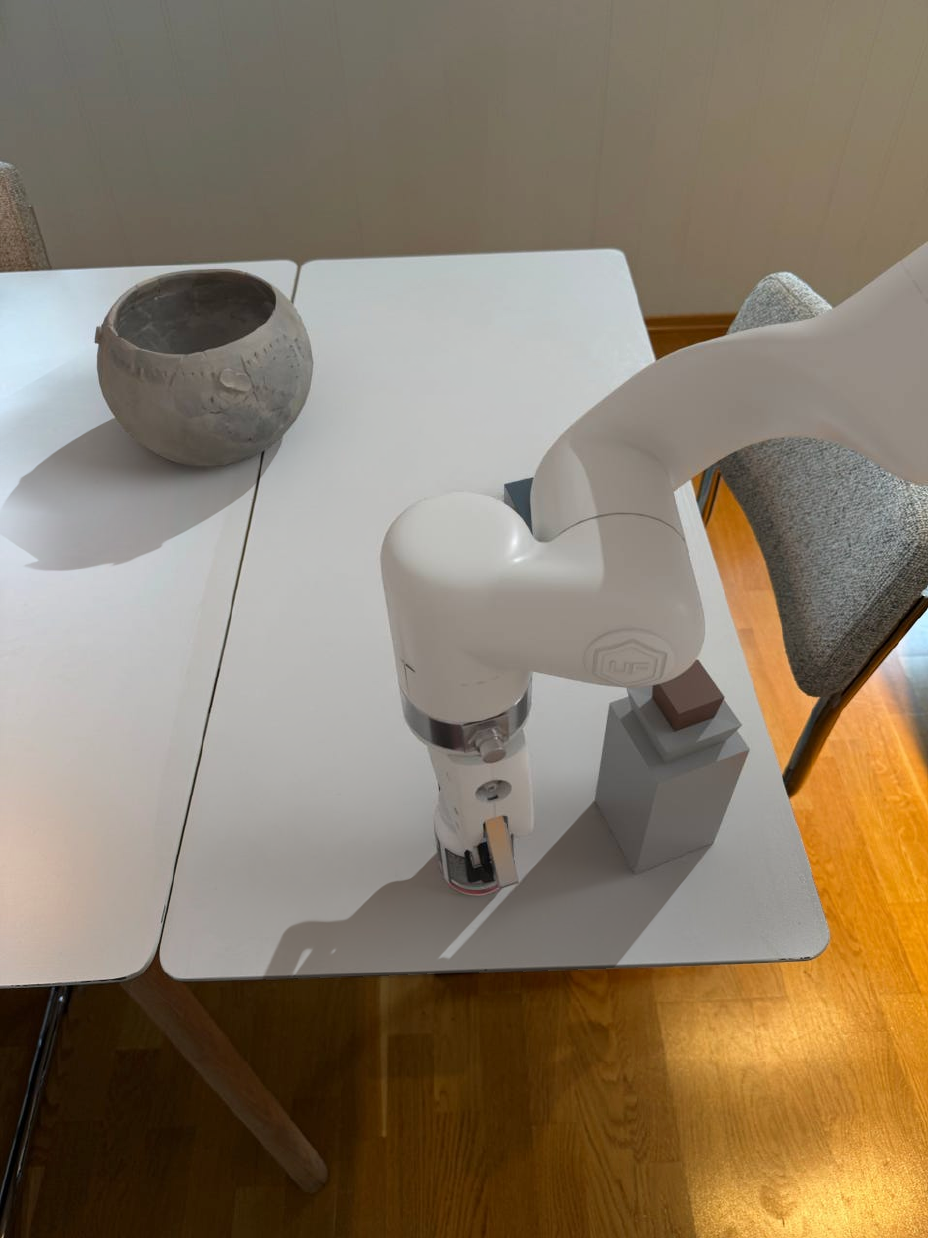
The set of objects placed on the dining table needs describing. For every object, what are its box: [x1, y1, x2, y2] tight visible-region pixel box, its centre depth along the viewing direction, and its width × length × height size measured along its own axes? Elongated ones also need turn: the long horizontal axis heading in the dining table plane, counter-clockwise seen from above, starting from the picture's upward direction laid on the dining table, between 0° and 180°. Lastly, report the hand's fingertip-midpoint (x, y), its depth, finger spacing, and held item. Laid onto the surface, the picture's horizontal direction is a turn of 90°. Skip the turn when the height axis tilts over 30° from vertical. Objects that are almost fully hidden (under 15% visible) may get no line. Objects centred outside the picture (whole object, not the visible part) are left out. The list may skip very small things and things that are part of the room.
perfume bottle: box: [594, 658, 751, 875], centre depth 63 cm, size 7×7×18 cm
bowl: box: [94, 268, 314, 467], centre depth 99 cm, size 23×23×15 cm
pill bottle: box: [433, 789, 515, 896], centre depth 65 cm, size 6×6×10 cm
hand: (474, 832), depth 65 cm, fingers closed on pill bottle, 5 cm apart
